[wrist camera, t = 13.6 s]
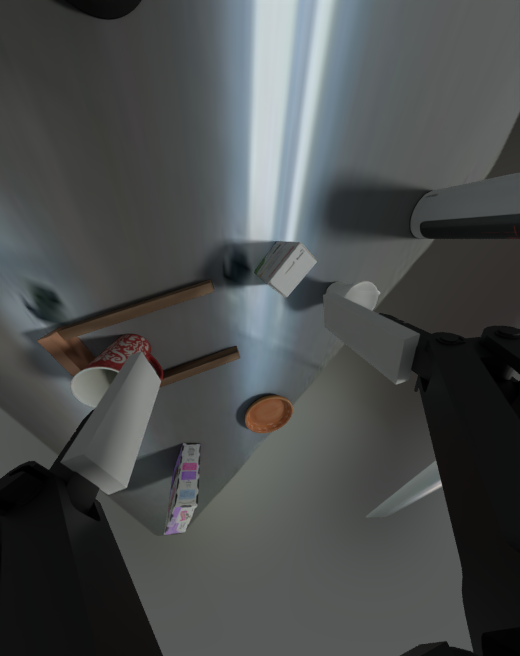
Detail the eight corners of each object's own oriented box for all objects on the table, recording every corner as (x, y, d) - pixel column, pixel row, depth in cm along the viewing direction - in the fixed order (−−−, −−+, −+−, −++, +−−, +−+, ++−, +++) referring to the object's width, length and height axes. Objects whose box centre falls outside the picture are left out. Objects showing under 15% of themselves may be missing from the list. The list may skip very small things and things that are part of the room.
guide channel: (56, 328, 38) (36, 340, 33) (210, 279, 41) (210, 284, 36) (117, 395, 47) (108, 411, 43) (238, 351, 50) (241, 362, 46)
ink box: (268, 285, 44) (286, 300, 34) (252, 272, 42) (267, 283, 32) (292, 255, 43) (319, 261, 32) (277, 239, 40) (300, 240, 30)
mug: (106, 359, 43) (66, 406, 31) (112, 324, 40) (72, 361, 28) (165, 370, 47) (151, 414, 36) (175, 340, 45) (163, 377, 33)
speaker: (404, 211, 44) (609, 184, 22) (441, 177, 43) (703, 111, 20) (415, 247, 49) (591, 257, 27) (449, 218, 48) (666, 202, 25)
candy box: (182, 442, 60) (173, 507, 45) (201, 442, 62) (198, 505, 47) (173, 469, 64) (162, 536, 50) (190, 469, 66) (185, 533, 52)
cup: (352, 298, 52) (381, 311, 43) (321, 312, 51) (345, 327, 42) (349, 267, 47) (380, 274, 38) (315, 281, 47) (340, 291, 38)
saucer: (259, 432, 67) (261, 440, 64) (233, 409, 59) (235, 417, 57) (297, 408, 66) (300, 415, 64) (276, 382, 59) (279, 389, 56)
